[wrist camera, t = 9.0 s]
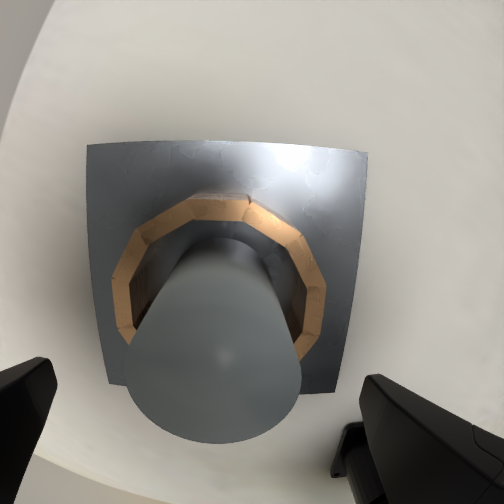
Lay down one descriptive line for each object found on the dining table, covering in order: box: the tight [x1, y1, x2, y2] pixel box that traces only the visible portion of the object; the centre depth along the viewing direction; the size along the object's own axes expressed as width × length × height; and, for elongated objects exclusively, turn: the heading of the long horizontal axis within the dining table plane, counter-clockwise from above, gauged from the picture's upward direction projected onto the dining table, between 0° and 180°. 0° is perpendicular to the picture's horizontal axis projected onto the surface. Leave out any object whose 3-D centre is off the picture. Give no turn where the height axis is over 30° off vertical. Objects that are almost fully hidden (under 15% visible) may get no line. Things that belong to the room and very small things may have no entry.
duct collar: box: [86, 141, 368, 394], centre depth 15 cm, size 14×14×4 cm
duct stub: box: [124, 238, 302, 444], centre depth 12 cm, size 5×5×8 cm
